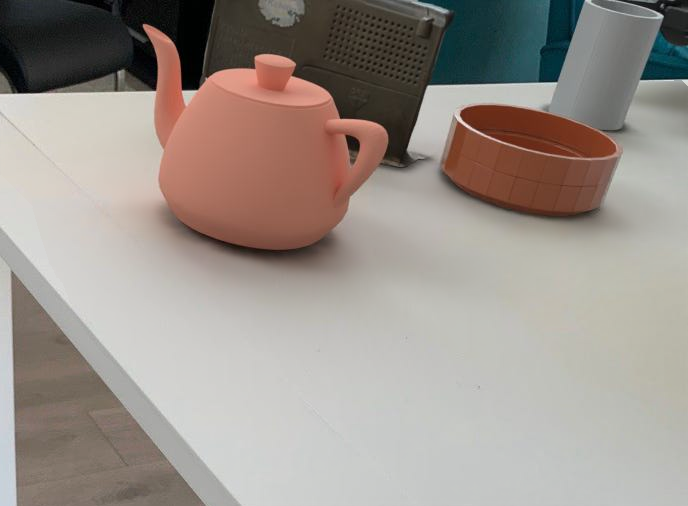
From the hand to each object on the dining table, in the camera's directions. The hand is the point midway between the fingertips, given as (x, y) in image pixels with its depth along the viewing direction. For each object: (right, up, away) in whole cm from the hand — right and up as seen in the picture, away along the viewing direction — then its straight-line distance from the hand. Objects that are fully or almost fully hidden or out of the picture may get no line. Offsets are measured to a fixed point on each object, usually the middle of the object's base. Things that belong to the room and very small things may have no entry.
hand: (653, 28), depth 127 cm
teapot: (-53, -41, -43) cm, 79 cm away
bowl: (-25, -31, -26) cm, 47 cm away
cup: (-9, -11, 0) cm, 14 cm away
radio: (-45, -25, -23) cm, 57 cm away
